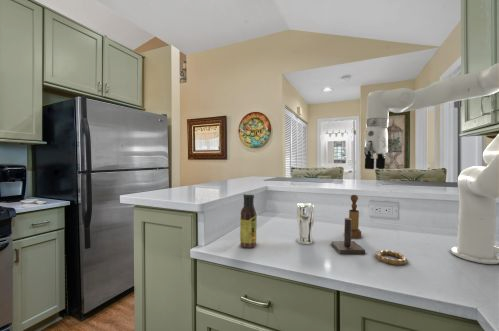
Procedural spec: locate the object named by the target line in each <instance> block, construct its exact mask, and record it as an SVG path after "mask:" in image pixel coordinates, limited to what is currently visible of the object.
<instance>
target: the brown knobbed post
mask: <svg viewBox="0 0 499 331" xmlns="http://www.w3.org/2000/svg"><path fill="white" fill-rule="evenodd" d="M350 200H351V202H352V204H351V209H349V211H348V218H350V219H352V226H351V239H361V238H362V231H361V230H360V228H359V222H360V221H359V220H360V210H357V207H358V205H357V202H358V201H359V196H358V195H357V194H351V195H350Z"/></svg>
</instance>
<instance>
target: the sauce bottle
mask: <svg viewBox="0 0 499 331" xmlns="http://www.w3.org/2000/svg"><path fill="white" fill-rule="evenodd" d="M254 199H255V194H254V193H244V194H243V207H242V208H241V210H240V220H239V222H240V224H239V225H240V227H239V232H240V233H239V242H240V247H242V248H248V249H250V248H254V247H256V245H257V227H258V226H257V223H258V222H257V218H258V217H257V216H258V215H257V212H256V209H255V206H254Z"/></svg>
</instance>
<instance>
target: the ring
mask: <svg viewBox="0 0 499 331" xmlns="http://www.w3.org/2000/svg"><path fill="white" fill-rule="evenodd" d="M386 256H391V257H395V258H398V259H395V258H388V257H386ZM375 258H376V259H377V260H379V262H383V263H386V264H390V265H393V266H402V265H405V264H407V263H408V259H407V257H406V255H403V254H402V253H400V252H397V251H393V250H388V249H381V250H377V251H375Z"/></svg>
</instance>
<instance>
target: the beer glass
mask: <svg viewBox="0 0 499 331" xmlns="http://www.w3.org/2000/svg"><path fill="white" fill-rule="evenodd" d="M314 223H315V205H314V204H312V203H297V204H296V225H297V237H296V238H297V239H296V241H297V243H298V244H302V245H311V244H313V241H314V240H313V236H312V233H313V227H314Z"/></svg>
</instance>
